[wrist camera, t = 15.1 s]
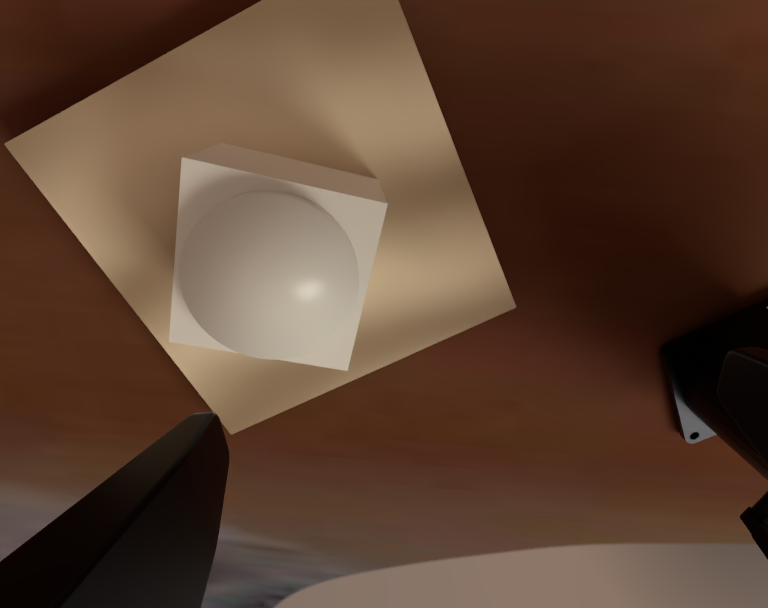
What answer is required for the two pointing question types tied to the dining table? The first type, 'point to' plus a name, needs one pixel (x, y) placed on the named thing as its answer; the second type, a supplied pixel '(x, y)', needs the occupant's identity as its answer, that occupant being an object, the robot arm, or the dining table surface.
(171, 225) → the stud plate
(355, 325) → the white domed square block
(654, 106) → the dining table surface
